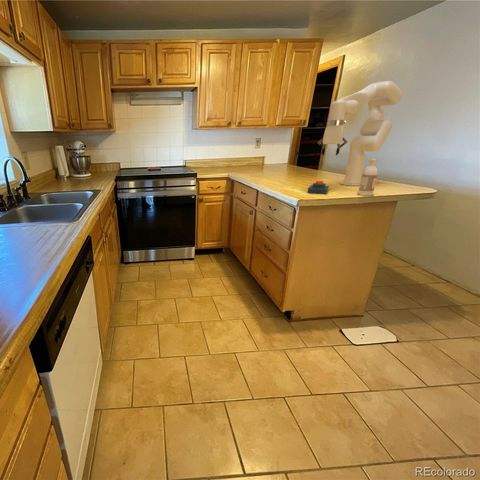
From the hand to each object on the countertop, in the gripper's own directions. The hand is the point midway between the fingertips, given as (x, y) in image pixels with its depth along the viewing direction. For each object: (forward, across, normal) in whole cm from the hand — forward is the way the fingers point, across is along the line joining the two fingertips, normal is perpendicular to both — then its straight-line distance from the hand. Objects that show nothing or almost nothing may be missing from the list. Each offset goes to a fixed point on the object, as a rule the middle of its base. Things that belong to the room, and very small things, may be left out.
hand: (329, 154), depth 165 cm
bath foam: (+22, -22, +8) cm, 32 cm away
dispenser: (+22, +2, +9) cm, 23 cm away
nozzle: (+17, +2, +9) cm, 19 cm away
